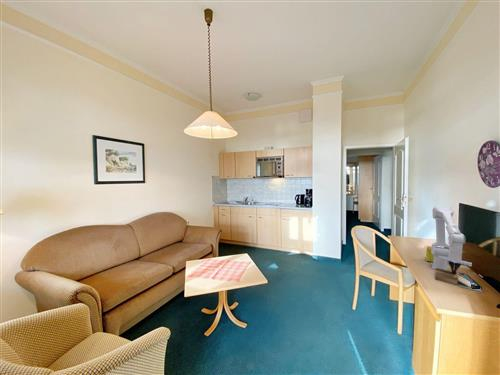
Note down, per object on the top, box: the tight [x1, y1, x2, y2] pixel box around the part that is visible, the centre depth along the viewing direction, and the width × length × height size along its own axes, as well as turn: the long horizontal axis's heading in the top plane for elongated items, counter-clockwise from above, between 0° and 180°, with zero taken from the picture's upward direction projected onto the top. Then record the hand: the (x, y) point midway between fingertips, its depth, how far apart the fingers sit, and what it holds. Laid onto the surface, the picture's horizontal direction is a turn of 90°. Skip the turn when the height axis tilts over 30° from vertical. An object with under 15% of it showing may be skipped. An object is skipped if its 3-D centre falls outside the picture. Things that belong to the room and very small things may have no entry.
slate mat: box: [457, 280, 483, 294], centre depth 126 cm, size 12×10×1 cm
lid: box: [454, 270, 471, 287], centre depth 128 cm, size 7×8×3 cm
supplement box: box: [425, 245, 434, 264], centre depth 160 cm, size 6×6×11 cm
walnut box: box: [434, 268, 458, 286], centre depth 133 cm, size 10×10×4 cm
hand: (453, 273), depth 131 cm, fingers closed
